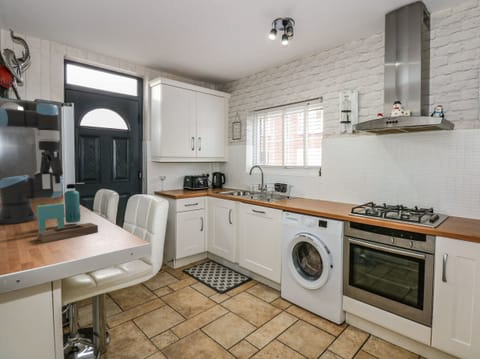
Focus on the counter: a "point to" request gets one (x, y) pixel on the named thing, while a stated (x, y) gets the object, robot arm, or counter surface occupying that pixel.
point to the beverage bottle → (72, 205)
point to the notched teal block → (50, 215)
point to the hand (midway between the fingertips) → (51, 190)
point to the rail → (67, 232)
